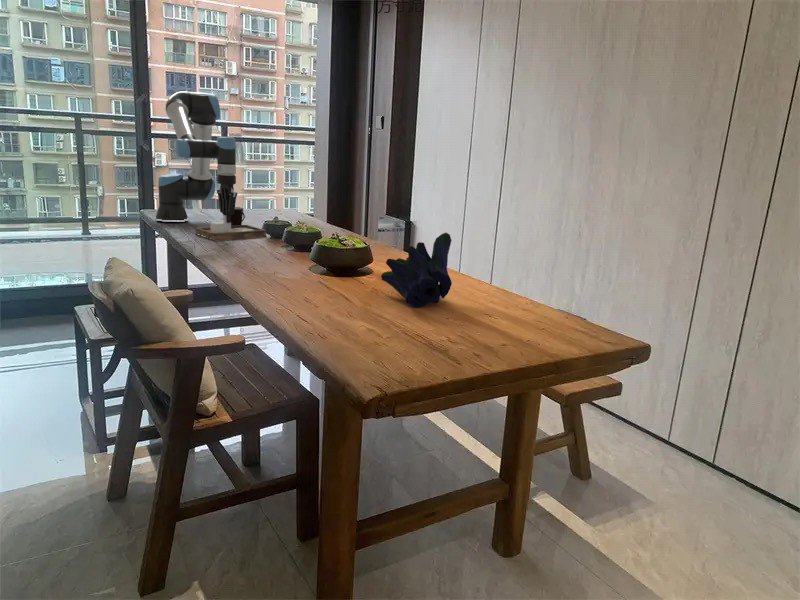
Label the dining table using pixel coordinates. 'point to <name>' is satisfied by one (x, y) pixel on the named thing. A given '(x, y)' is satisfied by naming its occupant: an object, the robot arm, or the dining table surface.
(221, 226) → the block
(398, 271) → the dark blue branching piece
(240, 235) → the tray
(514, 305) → the dining table surface
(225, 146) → the robot arm
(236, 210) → the coffee mug
